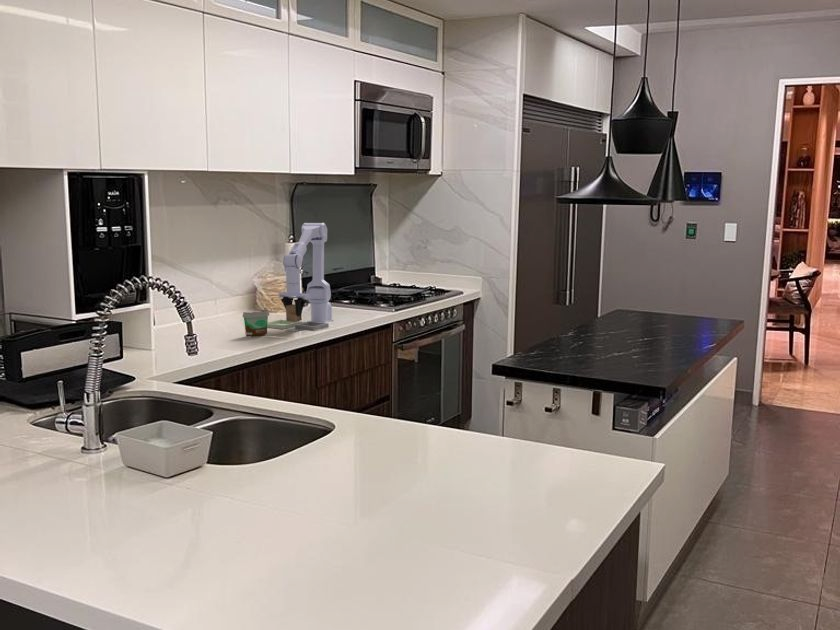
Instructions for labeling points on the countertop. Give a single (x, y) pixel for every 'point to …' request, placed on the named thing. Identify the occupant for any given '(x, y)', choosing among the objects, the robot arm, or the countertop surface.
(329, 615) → the countertop surface
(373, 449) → the countertop surface
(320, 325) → the grey tray
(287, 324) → the green tray
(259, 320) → the food container
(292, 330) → the slate coaster
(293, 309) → the walnut block
